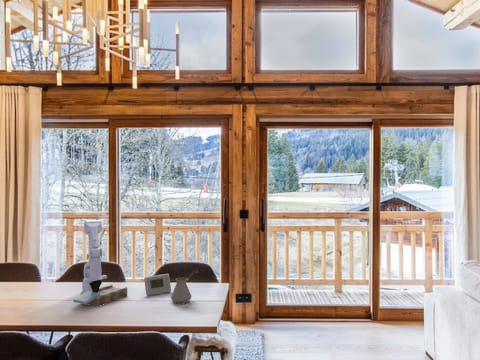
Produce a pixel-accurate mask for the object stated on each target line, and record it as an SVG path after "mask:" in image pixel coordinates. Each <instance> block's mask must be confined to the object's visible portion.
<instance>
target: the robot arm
mask: <svg viewBox="0 0 480 360" xmlns="http://www.w3.org/2000/svg"><path fill="white" fill-rule="evenodd" d="M83 226H84V227H83V232H84V234H85V235H87V237H88V262H86V263H84V265H83V277H84V278H83V280H82V284H81V285H82V286H81V287H82V291H81V292H80V294H82V293H85V292H87V291H93V292H96V293H98V291H99V288H101V285H102V283H103V281H102V280H106V279H107V278H108V275H107V274H102V258H103V249H102V246H101V240H100V238H98V237H99V236H98V235H99V234H100V233H101V232H102V227H103V224H102V220H101V219H95V220H93V219H91V220H84V221H83Z"/></svg>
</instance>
